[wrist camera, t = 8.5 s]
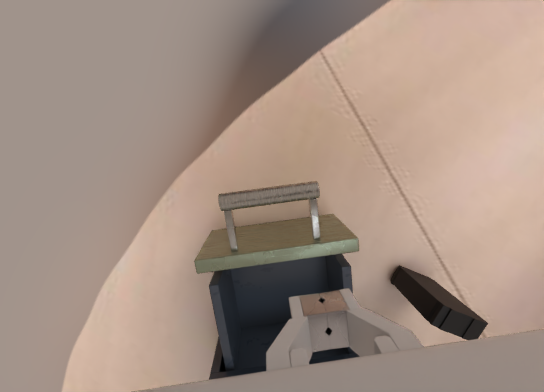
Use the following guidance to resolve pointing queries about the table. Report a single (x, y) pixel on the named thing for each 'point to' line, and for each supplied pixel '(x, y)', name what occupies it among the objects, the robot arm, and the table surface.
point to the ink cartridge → (438, 304)
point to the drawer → (271, 270)
